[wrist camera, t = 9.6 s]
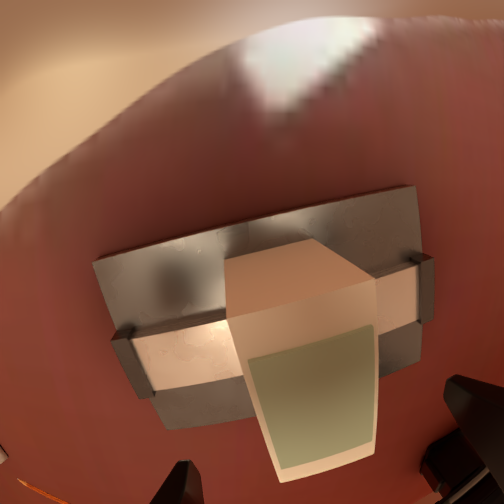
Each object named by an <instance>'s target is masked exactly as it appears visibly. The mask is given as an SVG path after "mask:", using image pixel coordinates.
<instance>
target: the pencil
mask: <svg viewBox="0 0 504 504" xmlns="http://www.w3.org/2000/svg"><path fill="white" fill-rule="evenodd" d="M17 479H18V478H17ZM18 480H19V481H20V482H22V483H23V484H24V485H25V486H27V487H28V488H30V489H32V490H34V491H36V492H38V493H40V494H42V495H44V496H46V497H48V498H50V499H52V500H54V501H56V502H59V503H61V504H70V503H67V502H65V501H63V500H61V499H58V498H56V497H54V496H52V495H50V494H48V493H46V492H44V491H42V490H40V489H38V488H36V487H34V486H32V485H30V484H28V483H26V482H24V481H22V480H20V479H18Z"/></svg>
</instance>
